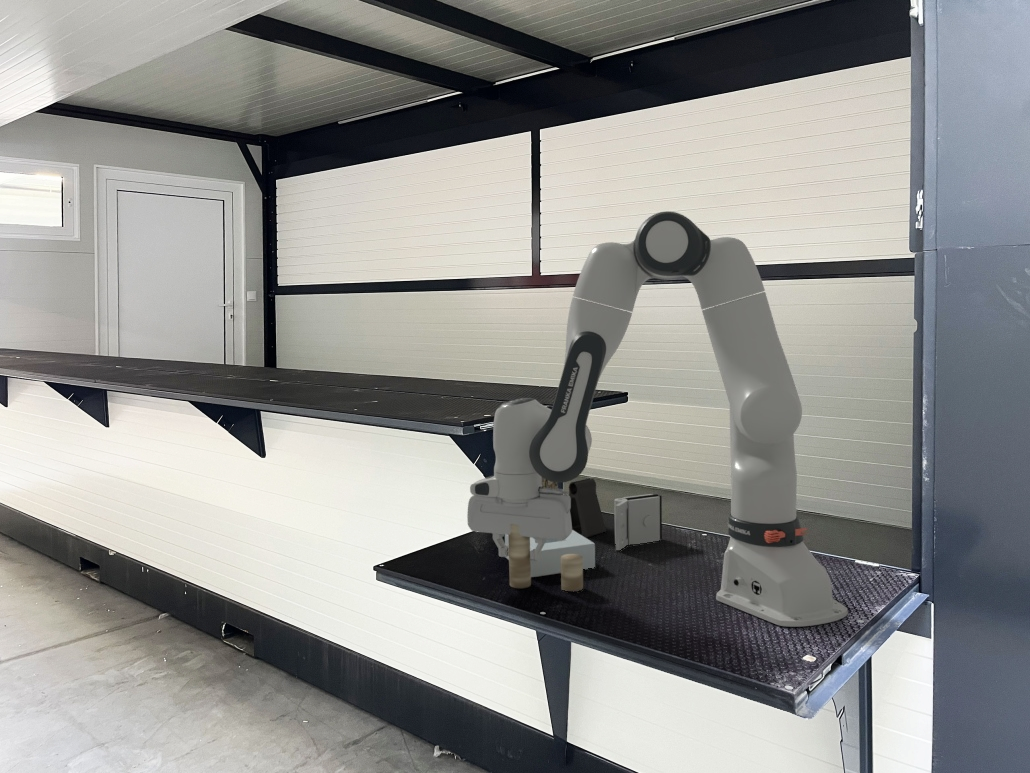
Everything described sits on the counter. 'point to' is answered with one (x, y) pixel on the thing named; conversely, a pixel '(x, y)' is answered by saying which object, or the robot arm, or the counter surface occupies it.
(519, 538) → the tall pin
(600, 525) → the phone stand
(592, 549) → the hole board
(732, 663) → the counter surface
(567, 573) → the short pin
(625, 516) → the hinge
